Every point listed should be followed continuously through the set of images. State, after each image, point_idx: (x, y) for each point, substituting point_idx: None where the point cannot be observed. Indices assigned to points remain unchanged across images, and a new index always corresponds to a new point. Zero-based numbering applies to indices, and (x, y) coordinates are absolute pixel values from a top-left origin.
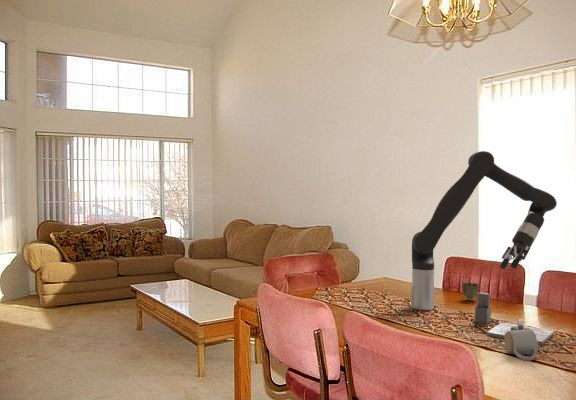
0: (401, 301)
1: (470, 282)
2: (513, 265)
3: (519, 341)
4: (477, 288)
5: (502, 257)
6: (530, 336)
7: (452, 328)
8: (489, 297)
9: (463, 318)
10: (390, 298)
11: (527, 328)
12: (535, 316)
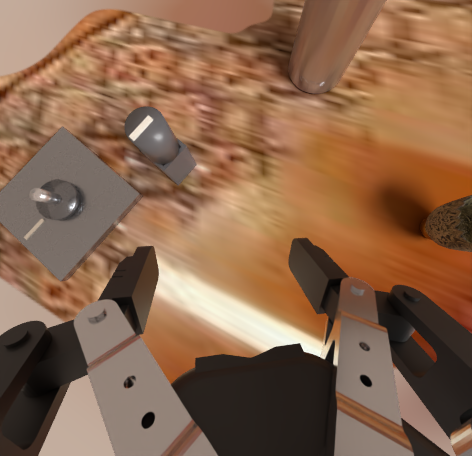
0: (392, 37)
1: None
2: (126, 261)
3: None
4: (456, 243)
5: (400, 290)
6: None
7: (124, 82)
8: (138, 147)
9: (209, 133)
10: (429, 17)
11: (55, 215)
12: (231, 328)
